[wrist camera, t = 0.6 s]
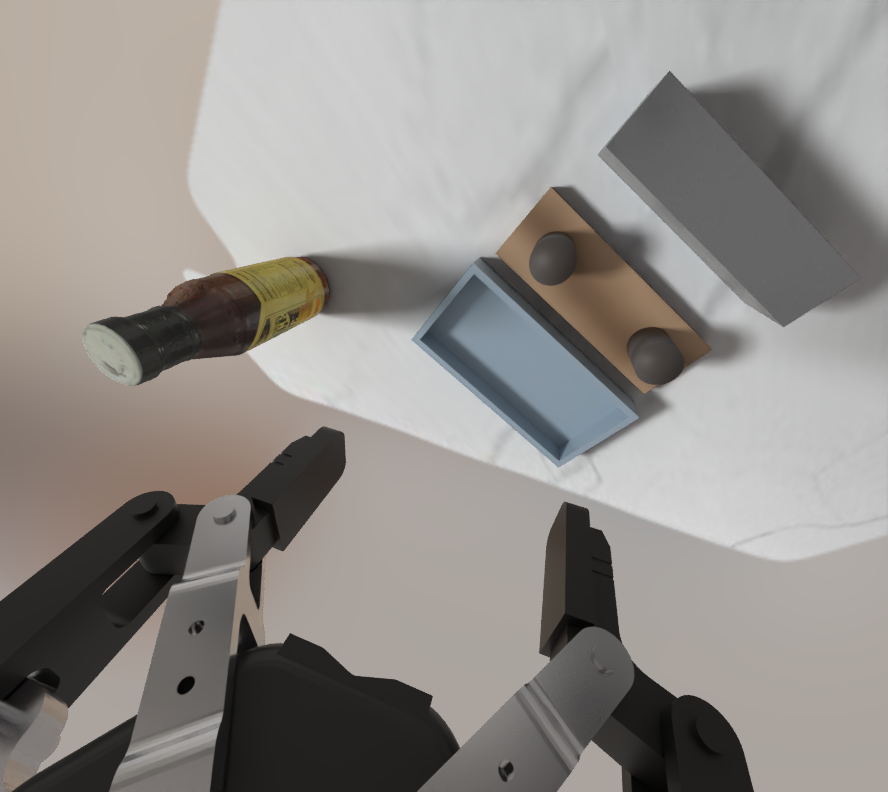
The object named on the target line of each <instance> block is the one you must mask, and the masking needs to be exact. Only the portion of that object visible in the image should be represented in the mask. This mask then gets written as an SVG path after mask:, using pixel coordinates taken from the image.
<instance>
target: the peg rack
mask: <svg viewBox="0 0 888 792" xmlns="http://www.w3.org/2000/svg"><path fill="white" fill-rule="evenodd" d="M496 254H497V255H498V256H499V257H500V258H501V259H502V260H503V261H504V262H505V263H506V264H507V265H508V266H509V267H510V268H511V269H512V270H514V271H515V272H516V273H517V274H518V275H519V276H520V277H521V278H522V279H523V280H524V281H525V282H526V283H527V284H528V285H529V286H530V287H531V288H533V289H534V290H535V291H536V292H537V293H538V294H539V295H540V296H541V297H542V298H543V299H544V300H545V301H546V302H547V303H548V304H549V305H551V306H552V307H553V308H554V309H555V310H556V311H557V312H558V313H559V314H560V315H561V316H562V317H563V318H564V319H565V320H566V321H567V322H568V323H570V324H571V325H572V326H573V327H574V328H575V329H576V330H577V331H578V332H579V333H580V334H581V335H582V336H583V337H584V338H585V339H586V340H588V341H589V342H590V343H591V344H592V345H593V346H594V347H595V348H596V349H597V350H598V351H599V352H600V353H601V354H602V355H603V356H604V357H605V358H607V359H608V360H609V361H610V362H611V363H612V364H613V365H614V366H615V367H616V368H617V369H618V370H619V371H620V372H621V373H622V374H623V375H624V376H626V377H627V378H628V379H629V380H630V381H631V382H632V383H633V384H634V385H635V386H636V387H637V388H638V389H639V390H640V391H641V392H642V393H644V394H645V393H646V392H648V391H649V390H651V389H652V388H654V387H656V386H657V385H660V384H665V383H668V382H670V381H672V380H674V379H675V378H676V377H678V376H679V374H680V373H681V372H682V370H683V368H685V367H686V366H688V365H689V364H691V363H692V362H694V361H695V360H697V359H698V358H700V357H702V356H703V355H705V354H706V353H708V352H709V351H711V350H712V349H711V348H710V347H709V346H708V344H707V343H706V342H705V341H704V340H703V339H702V338H701V337H700V336H699V335H698V334H697V333H696V332H695V331H694V330H693V329H692V328H691V327H690V326H689V325H688V324H687V323H686V322H685V321H684V320H683V319H682V318H681V317H680V316H679V315H678V314H677V313H676V312H675V311H674V310H673V309H672V308H671V307H670V306H669V305H668V304H667V303H666V302H665V301H664V300H663V299H662V298H661V297H660V296H659V295H658V294H657V293H656V292H655V291H654V290H653V289H652V288H651V287H650V286H649V285H648V284H647V283H646V282H645V281H644V280H643V279H642V278H641V277H640V276H639V275H638V274H637V273H636V272H635V271H634V270H633V269H632V268H631V267H630V266H629V265H628V264H627V263H626V262H625V261H624V260H623V259H622V258H621V257H620V256H619V255H618V254H617V253H616V252H615V251H614V250H613V249H612V248H611V247H610V246H609V245H608V244H607V243H606V242H605V241H604V240H603V239H602V238H601V237H600V236H599V235H598V234H597V233H596V232H595V231H594V230H593V229H592V228H591V227H590V226H589V225H588V224H587V223H586V222H585V221H584V220H583V219H582V218H581V217H580V216H579V215H578V213H577V212H576V211H575V210H574V209H573V208H572V207H571V206H570V205H569V204H568V203H567V202H566V201H565V200H564V199H563V198H562V197H561V196H560V195H559V194H558V193H557V192H556V191H555V190H554V189H553V188H552V187H551V188H550V189H549V190H548V191H547V192H546V194H545V195H544V196H543V197H542V198H541V200H540V201H539V202H538V203H537V204H536V206H535V207H534V208H533V209H532V210H531V212H530V213H529V214H528V215H527V216H526V218H525V219H524V220H523V221H522V222H521V224H520V225H519V226H518V227H517V228H516V230H515V231H514V232H513V233H512V234H511V236H510V237H509V238H508V239H507V240H506V242H505V243H504V244H503V245H502V246H501V248H500V249H499V250H498V251H497V252H496Z"/></svg>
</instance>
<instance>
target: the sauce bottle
mask: <svg viewBox="0 0 888 792" xmlns="http://www.w3.org/2000/svg"><path fill="white" fill-rule="evenodd" d="M329 292H330V291H329V288H328V283H327V279H326V277H325V275H324V274H323V272H322V271H321V270H320V268H319V267H317V266H316V265H315V263H313V262H312V261H310V260H309V259H307V258H304V257H284V258H280V259H276V260H271V261H266V262H262V263H257V264H253V265H248V266H244V267H240V268H235V269H231V270H226V271H222V272H218V273H214V274H211V275H210V276H207V277H204V278H199V279H193V280H189V281H186V282H184V283H183V284H180V285H178V286H177V287H175V288H174V289H173V290H172V291H171V292H170V293H169V294H168V295H167V299H166V300H165V301H164V304H163V305H162V306H156V307H153V308H151V309H149V310H148V311H145V312H142V313H138V314H134V315H131V316H128V317H110V318H107V319H103V320H100V321H97V322H94V323H91V324H89V325H88V326H87V327H86V328H85V329H84V330H83V334H82V340H83V343H84V345H85V349H86V352H87V353H88V356H89V357H90V359H91V360H92V361H93V362H94V364H95V365H96V366H97V367H98V369H100V370H101V371H102V372H103V373H104V374H105V375H107V376H108V377H109V378H111V379H113V380H115V381H116V382H119V383H122V384H125V385H129V386H134V385H139V384H141V383H144V382H146V381H149V380H151V379H153V378H156V377H157V376H158V375H159V374H160V373H161V372H162V371H163V370H166V369H169V368H171V367H173V366H174V365H177V364H179V363H181V362H184V361H188V360H191V359H200V358H212V357H222V356H223V357H224V356H235V355H240V354H242V353H244V352H246V351H248V350H251V349H253V348H255V347H256V346H258V345H260V344H262V343H264V342H266V341H268V340H270V339H272V338H274V337H276V336H278V335H280V334H282V333H284V332H286V331H288V330H290V329H291V328H293V327H295V326H297V325H299V324H301V323H303V322H305V321H307V320H309V319H311V318H313V317H314V316H316V315H317V314H318V313H319V312H321V311H322V309H323V308H324V307H325V306H326V304H327V302H328V300H329Z"/></svg>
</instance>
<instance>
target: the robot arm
mask: <svg viewBox="0 0 888 792" xmlns="http://www.w3.org/2000/svg"><path fill="white" fill-rule="evenodd" d="M345 463H346V457H345V437H344V433H343V432H341V431H337V430H334V429H331V428H327V427H321V428H320V429H319V430H318V431H317V432H316V433H315V434H314V435H313V436H312V437H308V436H304V437H302V438H300V439H298V440H296V441H295V442H292V443H291V444H290V445H289V446H288V447H287V448H286V449H285V450H284V451H283V452H282V454H281V455H280V454H279V455H278V456H277V457H276V458H275V459H274V460H273V462H272V463H270V464H269V465H268V466H267V467H266V468H265V469H264V470H262V471H261V472H260V473H259V474H258V475H257V476H256V477H255V478H254V479H253V480H252V481H251V482H250V483H249V484H248V485H247V486H246V487H245V488H243V490H241V491H240V492H239V493H238V494H237V495H227V496H223V497H220V498H217V499H215V500H213V501H211V502H210V503H208V504H207V505H187V504H176V501H175V499H174V497H173V496H172V495H171V494H170V493H168V492H164V491H153V492H148V493H144V494H142V495H139V496H137V497H135V498H133V499H131V500H129V501H128V502H126V503H125V504H124V505H123V506H121V507H120V508H119V509H117V510H116V511H115V512H114V513H112V514H111V515H110V516H108V517H107V518H106V519H105V520H104V521H102V522H101V523H100V524H98V525H97V526H96V527H94V528H93V529H92V530H91V531H89V532H88V533H87V534H86V535H84V536H83V537H82V538H80V539H79V540H78V541H77V542H75V543H74V544H73V545H72V546H70V547H69V548H68V549H66V550H65V551H64V552H63V553H61V554H60V555H59V556H57V557H56V558H55V559H54V560H52V561H51V562H50V563H49V564H47V565H46V566H45V567H44V568H42V569H41V570H40V571H38V572H37V573H36V574H35V575H33V576H32V577H31V578H30V579H28V580H27V581H26V582H24V583H23V584H22V585H21V586H19V587H18V588H17V589H15V590H14V591H13V592H12V593H10V594H9V595H8V596H6V597H5V598H4V599H3V600H1V601H0V792H557V791H558V789H559V788H560V787H561V785H562V784H563V782H564V781H565V780H566V779H567V777H568V776H569V775H570V773H571V772H572V770H573V769H574V767H575V766H576V764H577V763H578V761H579V759H580V758H579V757H580V755H581V753H582V752H583V750H584V749H585V748H586V746H587V745H588V744H589V742H590V741H591V740H592V741H593V742H594V743H595V744H597V745H598V746H599V747H600V748H601V749H602V750H603V751H605V752H606V753H607V754H608V755H609V756H610V757H612V758H613V759H614V760H615V761H616V762H617V763H618V764H619V765H621V766H622V786H623V792H754V790H753V787H752V783H751V779H750V775H749V771H748V767H747V763H746V759H745V755H744V752H743V749H742V746H741V744H740V741H739V739H738V737H737V735H736V733H735V732H734V730H733V728H732V727H731V726H730V724H729V723H728V722H727V720H726V719H725V718H724V717H723V715H722V714H721V713H720V712H719V711H718V710H716V709H715V708H714V707H713V706H712V705H710V704H709V703H708V702H706V701H704V700H702V699H701V698H698V697H695V696H691V695H684V696H681V697H679V698H676V697H675V696H674V695H672V694H671V693H670V692H668V691H667V690H666V689H664V688H663V687H661V686H660V685H659V684H657V683H656V682H655V681H653V680H652V679H651V678H649V677H648V676H647V675H646V674H644V673H643V672H642V671H641V670H640V669H639V668H638V667H637V666H636V665H635V664H634V663H633V661H632V660H631V657H630V655H629V654H628V652H627V650H626V648H625V647H624V645H623V644H622V641H621V638H620V634H619V626H618V616H617V607H616V598H615V588H614V581H613V569H612V566H611V564H612V560H611V550H610V546H609V544H608V542H607V540H606V538H605V536H604V534H603V532H602V531H601V530H598V529H595V528H592V527H590V519H589V510H588V509H587V508H584V507H580V506H577V505H574V504H571V503H567V502H564V503H563V504H562V506H561V508H560V510H559V513H558V515H557V517H556V519H555V521H554V523H553V525H552V528H551V530H550V533H549V536H548V540H547V546H546V560H545V575H544V590H543V605H542V620H541V636H540V650H539V653H540V654H542V655H545V656H548V657H550V662H549V663H548V664H547V665H546V666H545V667H544V668H543V669H542V670H541V671H540V672H539V673H538V674H537V675H536V676H535V677H534V678H533V680H531V681H530V682H529V683H528V684H525V685H524V686H523V687H521V688H520V689H519V690H518V691H517V692H516V693H515V694H514V695H513V696H512V697H511V698H510V699H509V700H508V701H507V702H506V703H505V704H504V705H503V706H502V707H501V708H500V709H499V710H498V711H497V712H496V713H495V714H494V715H493V716H492V717H491V718H490V719H489V720H488V721H487V722H486V723H485V724H484V725H483V726H482V727H481V728H480V729H479V730H478V731H477V732H476V733H475V734H474V735H473V736H472V737H471V738H470V739H469V740H468V741H467V742H466V743H465V744H464V745H463V746H462V747H461V748H460V747H459V745H458V743H457V741H456V739H455V737H454V735H453V733H452V732H451V730H450V728H449V727H448V726H447V724H446V722H445V721H444V720H443V719H442V718H441V716H440V715H439V714H438V713H437V712H436V711H435V710H434V709H433V708H431V707H430V705H431V701H432V697H433V696H432V695H429V694H427V693H425V692H423V691H420V690H418V689H416V688H414V687H411V686H409V685H406V684H404V683H402V682H400V681H398V680H395V679H384V678H373V677H361V676H354V675H352V674H351V673H350V672H348V671H347V670H346V669H345V668H344V667H343V666H342V665H341V664H340V663H339V662H338V661H337V660H336V659H335V658H333V657H332V656H331V655H330V654H329V653H328V652H327V651H326V650H325V649H324V648H322V647H320V646H318V645H316V644H313V643H311V642H309V641H306V640H304V639H302V638H299V637H297V636H295V635H293V634H291V633H290V634H289V636H288V637H287V639H286V640H285V642H284V643H283V644H282V643H279V644H278V643H276V644H268V645H265V632H264V624H263V600H264V580H265V555H266V554H267V553H268V551H269V550H270V549H271V548H272V547H273V548H276V549H278V550H281V551H284V550H285V549H286V547H287V546H288V545H289V544H290V542H291V541H292V539H293V538H294V537H295V536H296V534H297V533H298V532H299V531H300V529H301V528H302V527H303V525H304V524H305V523H306V521H307V520H308V519H309V518H310V516H311V515H312V514H313V512H314V511H315V510H316V508H317V507H318V506H319V504H320V503H321V502H322V501H323V499H324V498H325V497H326V496H327V494H328V493H329V492H330V490H331V489H332V488H333V486H334V485H335V484H336V483H337V481H338V480H339V478H340V477H341V476H342V474H343V471H344V469H345ZM137 559H139V561H138V562H137V563H135V564H134V565H133V566H132V568H130V569H129V570H128V571H127V572H126V573H125V574H124V575H123V576H122V577H121V578H120V579H119V580H118V581H116V582H115V583H114V584H113V585H112V586H111V587H110V588H109V589H108V590H107V591H106V592H105V593H104V591H105V590H106V588H108V587H109V586H110V585H111V584H112V583H113V582H114V581H115V580H116V579H117V578H118V577H119V576H120V575H121V574H123V573H124V572H125V570H127V569H128V568H129V567H130V566H131V565H132V564H133V563H134V562H135V561H136V560H137ZM103 593H104V594H103ZM102 594H103V595H102ZM167 597H168V598H167ZM166 598H167V602H166V606H165V610H164V614H163V618H162V621H161V625H160V629H159V633H158V637H157V641H156V645H155V649H154V653H153V656H152V660H151V664H150V668H149V672H148V676H147V680H146V683H145V687H144V691H143V695H142V699H141V703H140V707H139V711H138V714H137V715H135V716H134V717H132V718H131V719H129V720H127V721H126V722H124V723H122V724H120V725H119V726H117V727H115V728H114V729H112V730H110V731H108V732H107V733H105V734H104V735H102V736H100V737H98V738H97V739H95V740H93V741H92V742H90V743H88V744H87V745H85V746H83V747H81V748H80V749H78V750H77V751H75V752H73V753H71V754H70V755H68V756H66V757H65V758H63V759H61V760H60V761H58V762H56V763H54V764H53V765H51V766H49V767H48V768H46V769H44V770H43V771H41V772H39V773H38V774H36V773H37V770H38V768H39V766H40V764H41V762H43V761H44V760H45V759H47V758H48V757H49V756H50V755H51V754H52V753H53V752H54V750H55V749H56V748H57V746H58V744H59V741H60V734H61V732H62V730H63V728H64V726H65V724H66V721H67V716H68V708H69V707H70V706H71V705H72V704H73V703H74V701H75V700H76V699H77V698H78V697H79V696H80V695H81V694H82V692H83V691H84V690H85V689H86V688H87V687H88V686H89V685H90V684H91V682H92V681H93V680H94V679H95V678H96V677H97V676H98V675H99V673H100V672H101V671H102V670H103V669H104V668H105V667H106V666H107V664H108V663H109V662H110V661H111V660H112V659H113V658H114V657H115V656H116V654H117V653H118V652H119V651H120V650H121V649H122V648H123V647H124V645H125V644H126V643H127V642H128V641H129V640H130V639H131V638H132V636H133V635H134V634H135V633H136V632H137V631H138V630H139V629H140V627H141V626H142V625H143V624H144V623H145V622H146V621H147V620H148V618H149V617H150V616H151V615H152V614H153V613H154V612H155V611H156V609H157V608H158V607H159V606H160V605H161V604H162V603H163V602H164V601H165V600H166Z"/></svg>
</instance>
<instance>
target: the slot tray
mask: <svg viewBox="0 0 888 792" xmlns="http://www.w3.org/2000/svg"><path fill="white" fill-rule="evenodd" d="M412 341H413V342H415V343H416V344H417V345H418V346H419V347H420V348H421V349H423V350H424V351H425V352H426V353H427V354H428V355H430V356H431V357H432V358H433V359H434V360H435V361H436V362H438V363H439V364H440V365H441V366H442V367H443V368H445V369H446V370H447V371H448V372H449V373H450V374H451V375H453V376H454V377H455V378H456V379H457V380H458V381H460V382H461V383H462V384H463V385H464V386H465V387H466V388H468V389H469V390H470V391H471V392H472V393H473V394H474V395H476V396H477V397H478V398H479V399H480V400H481V401H483V402H484V403H485V404H486V405H487V406H488V407H489V408H491V409H492V410H493V411H494V412H495V413H496V414H498V415H499V416H500V417H501V418H502V419H503V420H504V421H506V422H507V423H508V424H509V425H510V426H511V427H512V428H514V429H515V430H516V431H517V432H518V433H519V434H521V435H522V436H523V437H524V438H525V439H526V440H527V441H529V442H530V443H531V444H532V445H533V446H534V447H536V448H537V449H538V450H539V451H540V452H541V453H542V454H544V455H545V456H546V457H547V458H548V459H549V460H551V461H552V462H553V463H554V464H555V465H556V466H557V467H560V466H562V465H564V464H565V463H567V462H569V461H570V460H572V459H573V458H575V457H577V456H578V455H580V454H582V453H583V452H585V451H586V450H588V449H590V448H591V447H593V446H595V445H596V444H598V443H599V442H601V441H603V440H604V439H606V438H608V437H609V436H611V435H612V434H614V433H616V432H617V431H619V430H621V429H622V428H624V427H625V426H627V425H629V424H630V423H632V422H634V421H635V420H637V419H638V418H639V415H638V412H637V409H636V406H635V403H634V401H633V400H632V399H631V398H630V397H629V396H628V395H627V394H626V393H625V392H624V391H623V390H622V389H621V388H620V387H618V386H617V385H616V384H615V383H614V382H613V381H612V380H611V379H610V378H609V377H608V376H607V375H606V374H605V373H604V372H602V371H601V370H600V369H599V368H598V367H597V366H596V365H595V364H594V363H593V362H592V361H591V360H590V359H589V358H588V357H586V356H585V355H584V354H583V353H582V352H581V351H580V350H579V349H578V348H577V347H576V346H575V345H574V344H573V343H572V342H570V341H569V340H568V339H567V338H566V337H565V336H564V335H563V334H562V333H561V332H560V331H559V330H558V329H557V328H556V327H554V326H553V325H552V324H551V323H550V322H549V321H548V320H547V319H546V318H545V317H544V316H543V315H542V314H541V313H540V312H538V311H537V310H536V309H535V308H534V307H533V306H532V305H531V304H530V303H529V302H528V301H527V300H526V299H525V298H524V297H522V296H521V295H520V294H519V293H518V292H517V291H516V290H515V289H514V288H513V287H512V286H511V285H510V284H509V283H508V282H506V281H505V280H504V279H503V278H502V277H501V276H500V275H499V274H498V273H497V272H496V271H495V270H494V269H493V268H492V267H490V266H489V265H488V264H487V263H486V262H485V261H484V260H483V259H482V258H481V257H480V258H479V259H477V260H476V261H475V262H474V263H473V264H472V265H471V266H470V268H469V269H468V270H467V271H466V273H465V274H464V275H463V276H462V278H461V279H460V280H459V281H458V283H457V284H456V285H455V286H454V288H453V289H452V290H451V291H450V293H449V294H448V295H447V296H446V297H445V299H444V300H443V301H442V302H441V304H440V305H439V306H438V307H437V309H436V310H435V311H434V312H433V314H432V315H431V316H430V317H429V319H428V320H427V321H426V322H425V324H424V325H423V326H422V327H421V329H420V330H419V331H418V332H417V333H416V335H415V336H414V337H413V338H412Z"/></svg>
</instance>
